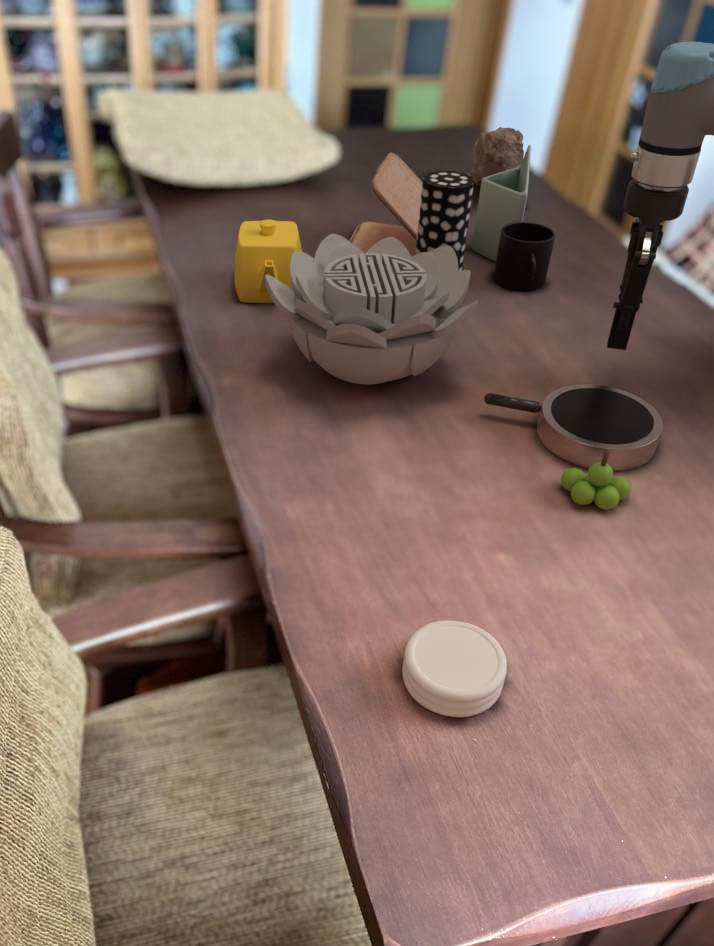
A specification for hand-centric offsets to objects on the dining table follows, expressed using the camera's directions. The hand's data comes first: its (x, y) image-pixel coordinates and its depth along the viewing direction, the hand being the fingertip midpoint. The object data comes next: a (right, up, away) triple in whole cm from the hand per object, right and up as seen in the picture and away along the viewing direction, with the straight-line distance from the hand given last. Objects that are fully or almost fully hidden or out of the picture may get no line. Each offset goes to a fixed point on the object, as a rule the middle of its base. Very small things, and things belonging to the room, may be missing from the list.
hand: (616, 346), depth 122 cm
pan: (-10, -13, -7) cm, 18 cm away
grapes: (-10, -24, -18) cm, 31 cm away
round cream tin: (-31, -43, -40) cm, 66 cm away
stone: (-4, +48, +62) cm, 79 cm away
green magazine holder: (-10, +28, +40) cm, 50 cm away
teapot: (-53, +16, +25) cm, 61 cm away
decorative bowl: (-37, -2, +6) cm, 38 cm away
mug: (-7, +18, +29) cm, 35 cm away
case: (-28, +27, +38) cm, 55 cm away
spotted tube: (-23, +15, +25) cm, 37 cm away
